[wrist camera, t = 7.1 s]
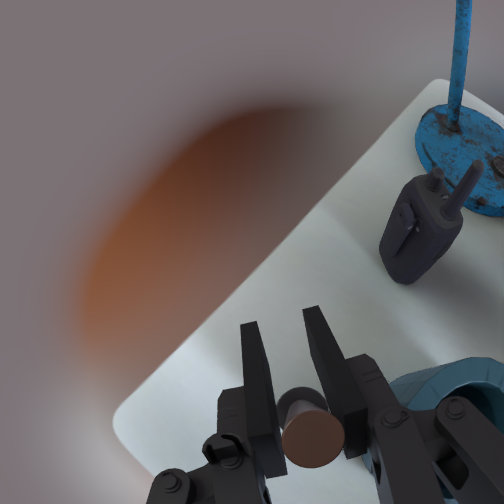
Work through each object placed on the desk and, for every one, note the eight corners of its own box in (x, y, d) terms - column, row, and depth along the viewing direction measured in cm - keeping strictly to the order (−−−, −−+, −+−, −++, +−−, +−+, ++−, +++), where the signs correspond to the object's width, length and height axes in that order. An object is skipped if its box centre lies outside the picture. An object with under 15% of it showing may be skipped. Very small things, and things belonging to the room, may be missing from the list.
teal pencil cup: (411, 506, 18) (455, 543, 10) (332, 440, 22) (352, 463, 14) (487, 415, 20) (550, 413, 12) (416, 347, 24) (466, 323, 16)
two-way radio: (425, 282, 26) (513, 183, 12) (383, 298, 26) (457, 200, 12) (401, 229, 28) (458, 109, 15) (360, 242, 28) (400, 117, 15)
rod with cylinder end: (298, 434, 22) (309, 517, 6) (270, 407, 23) (222, 437, 7) (328, 406, 23) (399, 432, 7) (300, 379, 24) (314, 353, 8)
